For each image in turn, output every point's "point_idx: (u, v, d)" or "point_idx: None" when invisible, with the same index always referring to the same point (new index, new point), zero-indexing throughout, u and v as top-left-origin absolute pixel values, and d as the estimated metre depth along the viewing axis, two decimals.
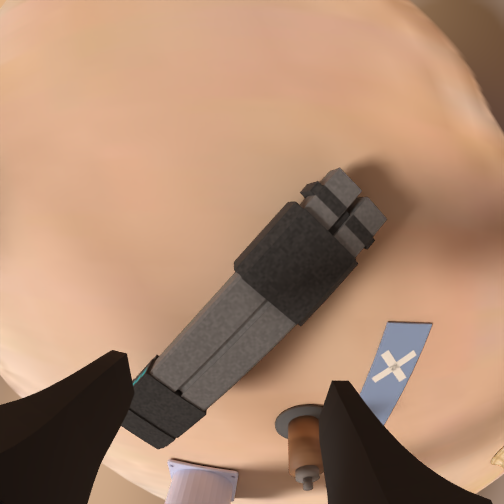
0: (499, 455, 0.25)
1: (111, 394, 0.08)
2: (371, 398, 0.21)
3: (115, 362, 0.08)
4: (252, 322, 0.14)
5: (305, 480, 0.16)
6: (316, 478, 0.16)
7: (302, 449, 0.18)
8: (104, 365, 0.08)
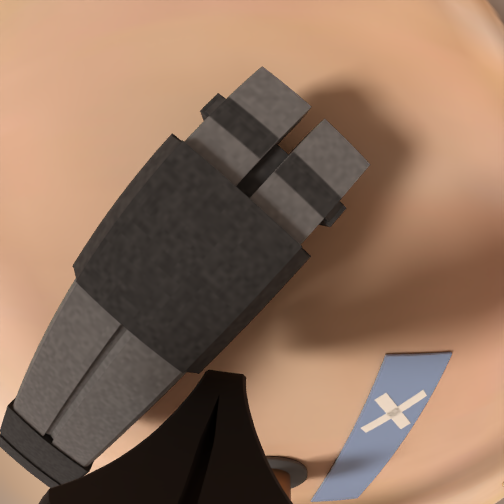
0: None
1: None
2: (360, 449, 0.14)
3: (223, 384, 0.08)
4: (111, 358, 0.07)
5: None
6: None
7: None
8: (213, 389, 0.08)
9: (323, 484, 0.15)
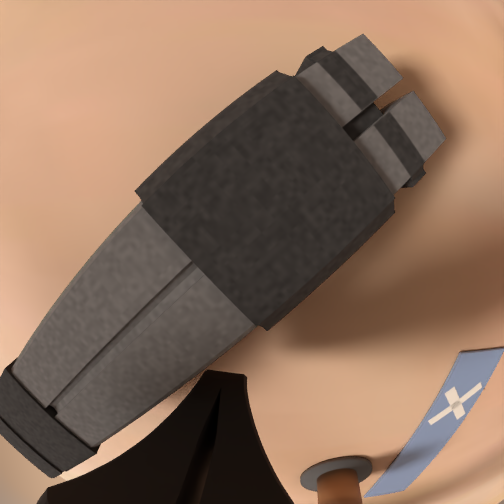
0: None
1: (216, 418, 0.08)
2: (422, 441, 0.14)
3: (221, 384, 0.08)
4: (163, 309, 0.07)
5: None
6: None
7: None
8: (212, 389, 0.08)
9: (381, 479, 0.15)
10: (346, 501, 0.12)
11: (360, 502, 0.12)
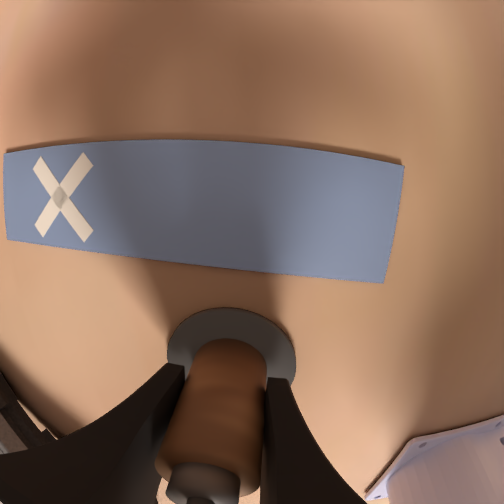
0: None
1: (172, 410, 0.08)
2: (137, 224, 0.09)
3: (177, 376, 0.08)
4: None
5: None
6: (201, 492, 0.05)
7: None
8: (166, 381, 0.08)
9: (281, 271, 0.09)
10: None
11: (184, 396, 0.08)
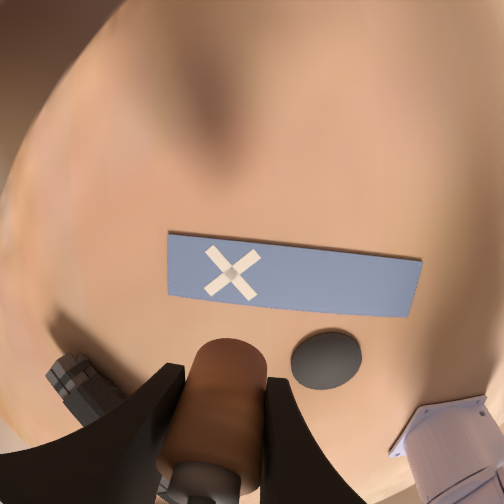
0: None
1: (172, 410, 0.08)
2: (288, 292, 0.18)
3: (177, 376, 0.08)
4: None
5: None
6: (201, 491, 0.05)
7: None
8: (166, 380, 0.08)
9: (360, 314, 0.18)
10: None
11: (184, 396, 0.08)
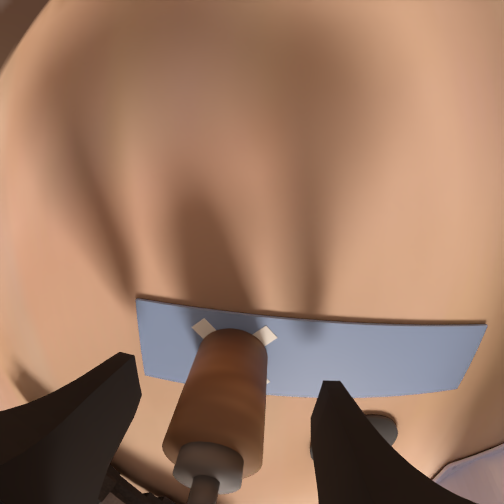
0: None
1: (119, 396, 0.08)
2: (315, 378, 0.11)
3: (123, 364, 0.08)
4: None
5: None
6: (205, 469, 0.06)
7: None
8: (112, 367, 0.08)
9: (405, 393, 0.12)
10: None
11: (190, 381, 0.08)
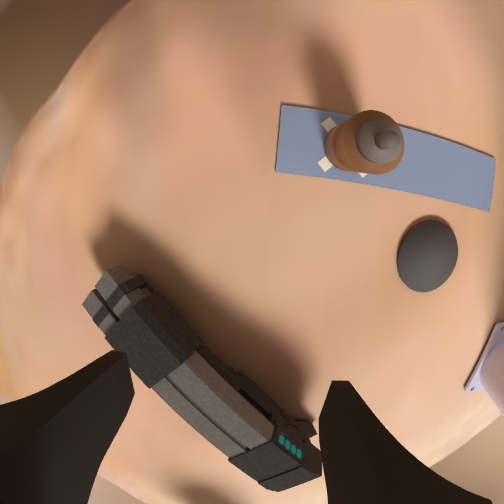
0: None
1: (111, 394, 0.08)
2: (399, 170, 0.16)
3: (115, 362, 0.08)
4: (184, 389, 0.16)
5: (379, 145, 0.10)
6: (383, 124, 0.10)
7: (339, 152, 0.12)
8: (104, 365, 0.08)
9: (456, 201, 0.16)
10: (333, 142, 0.13)
11: (342, 123, 0.13)
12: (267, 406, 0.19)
